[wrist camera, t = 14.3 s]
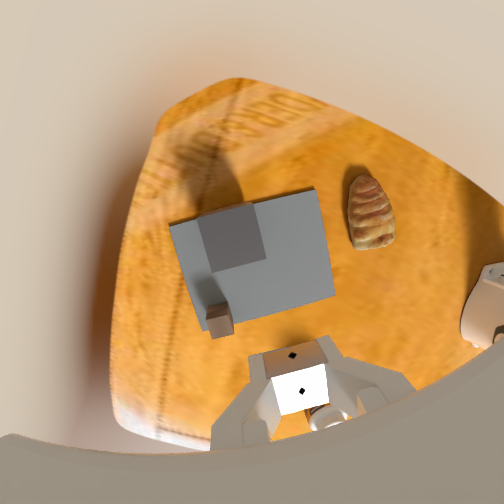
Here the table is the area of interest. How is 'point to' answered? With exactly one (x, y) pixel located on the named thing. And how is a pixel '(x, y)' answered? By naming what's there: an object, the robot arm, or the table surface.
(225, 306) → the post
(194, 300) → the mat
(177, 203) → the table surface
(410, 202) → the table surface
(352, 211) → the pastry
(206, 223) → the dark gray block
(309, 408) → the supplement bottle
